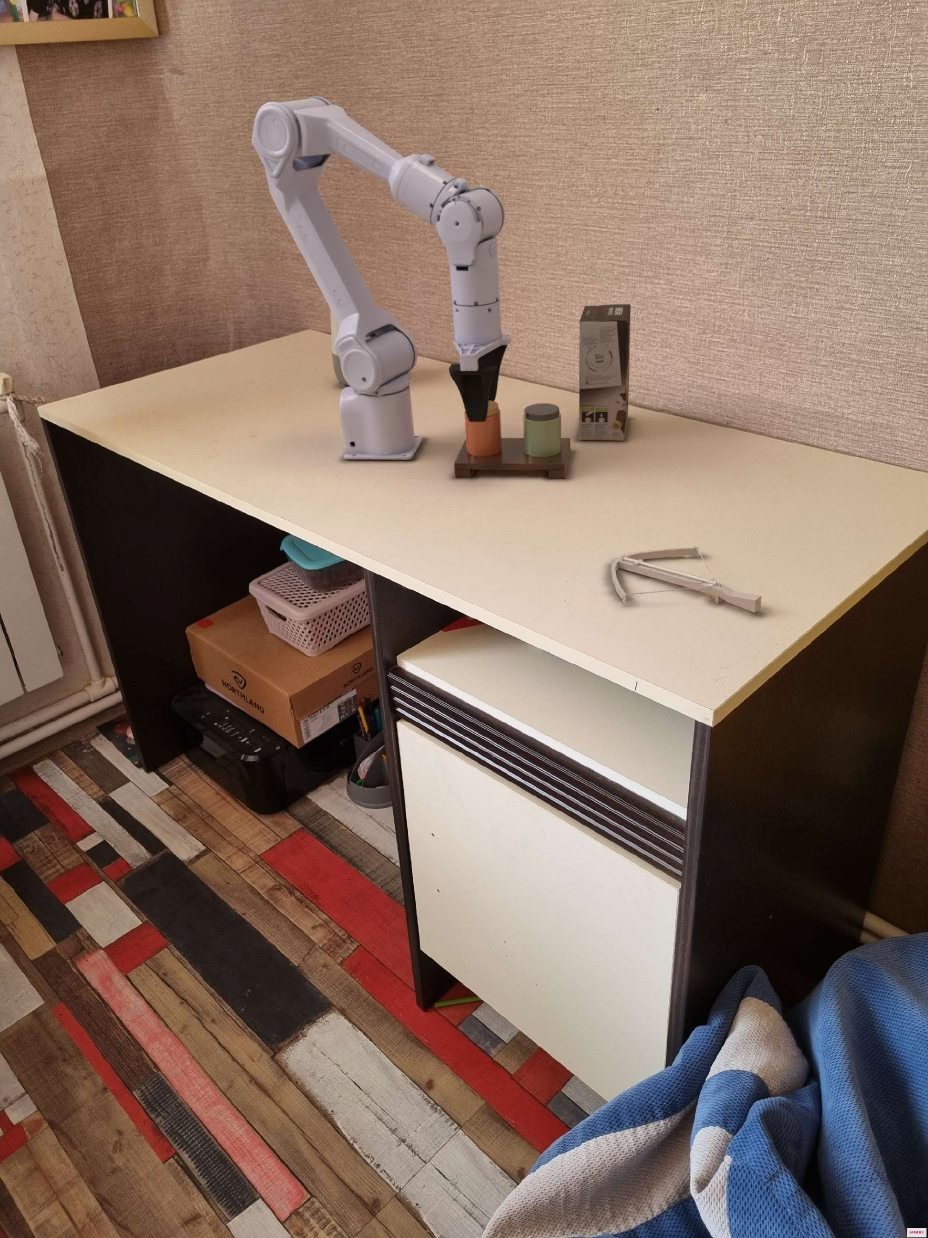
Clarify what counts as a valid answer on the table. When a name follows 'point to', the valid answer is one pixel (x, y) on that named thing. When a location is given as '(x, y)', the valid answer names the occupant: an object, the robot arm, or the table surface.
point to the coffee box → (604, 372)
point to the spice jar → (484, 433)
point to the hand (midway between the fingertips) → (482, 410)
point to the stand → (514, 459)
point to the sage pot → (542, 430)
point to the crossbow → (680, 577)
